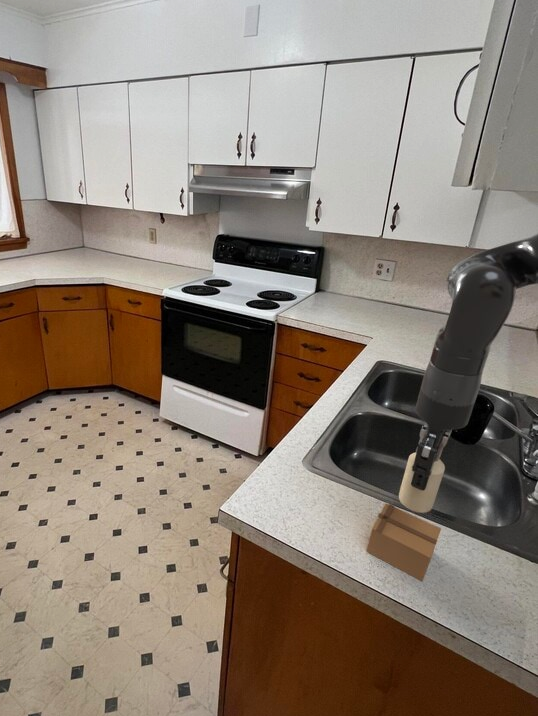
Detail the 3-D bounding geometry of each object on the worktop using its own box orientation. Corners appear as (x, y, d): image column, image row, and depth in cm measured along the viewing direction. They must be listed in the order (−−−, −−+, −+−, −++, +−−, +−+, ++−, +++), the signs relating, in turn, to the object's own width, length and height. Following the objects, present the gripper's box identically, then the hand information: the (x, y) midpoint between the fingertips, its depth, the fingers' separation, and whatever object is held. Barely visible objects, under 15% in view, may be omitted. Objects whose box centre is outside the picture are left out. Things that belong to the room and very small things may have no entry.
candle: (438, 503, 74) (453, 457, 70) (422, 518, 71) (437, 471, 67) (408, 485, 78) (420, 441, 74) (392, 499, 75) (404, 453, 70)
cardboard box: (433, 551, 80) (441, 527, 77) (422, 582, 74) (431, 557, 72) (379, 524, 86) (385, 502, 83) (365, 551, 80) (371, 527, 77)
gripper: (467, 421, 58) (436, 513, 65) (482, 381, 68) (455, 464, 75) (409, 402, 62) (386, 491, 69) (432, 367, 72) (410, 447, 79)
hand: (422, 476), depth 72 cm, fingers closed on candle, 5 cm apart
